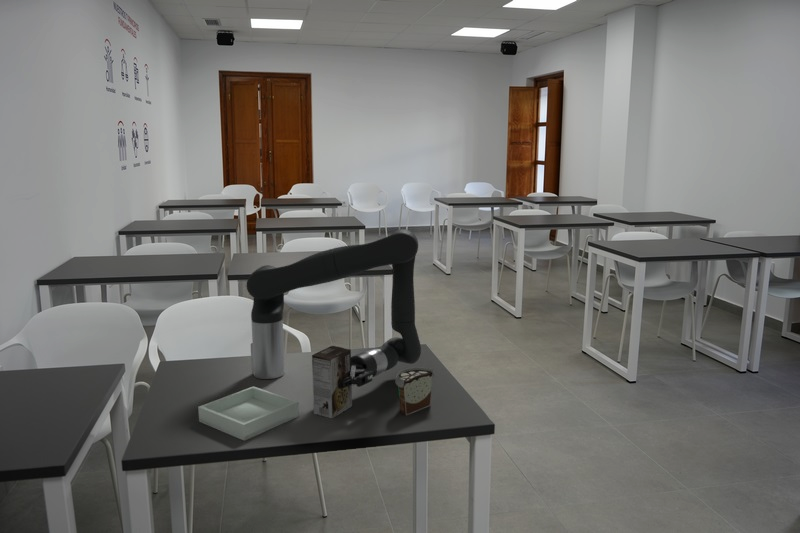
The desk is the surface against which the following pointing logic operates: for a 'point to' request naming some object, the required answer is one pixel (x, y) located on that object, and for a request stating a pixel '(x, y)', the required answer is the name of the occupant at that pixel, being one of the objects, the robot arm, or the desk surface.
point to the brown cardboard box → (331, 381)
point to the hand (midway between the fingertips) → (327, 381)
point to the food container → (414, 389)
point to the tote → (248, 412)
